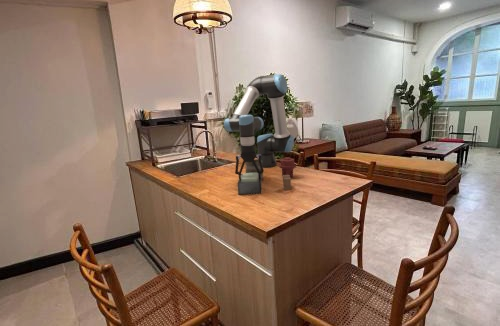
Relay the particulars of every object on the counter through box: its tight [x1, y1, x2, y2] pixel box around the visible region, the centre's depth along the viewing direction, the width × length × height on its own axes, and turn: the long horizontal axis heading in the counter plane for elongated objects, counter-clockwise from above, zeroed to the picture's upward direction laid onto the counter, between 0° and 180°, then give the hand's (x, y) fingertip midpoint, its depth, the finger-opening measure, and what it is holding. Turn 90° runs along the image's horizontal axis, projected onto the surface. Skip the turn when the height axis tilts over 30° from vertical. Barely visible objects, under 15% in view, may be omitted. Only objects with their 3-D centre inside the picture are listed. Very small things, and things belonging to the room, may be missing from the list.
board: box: [241, 172, 257, 182], centre depth 147 cm, size 12×8×2 cm, turn 177°
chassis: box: [236, 179, 263, 196], centre depth 148 cm, size 16×12×6 cm
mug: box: [244, 158, 264, 182], centre depth 167 cm, size 16×11×12 cm
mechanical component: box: [278, 156, 296, 179], centre depth 166 cm, size 12×10×10 cm
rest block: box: [282, 175, 292, 191], centre depth 148 cm, size 8×4×6 cm, turn 177°
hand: (250, 185), depth 148 cm, fingers closed on board, 8 cm apart
